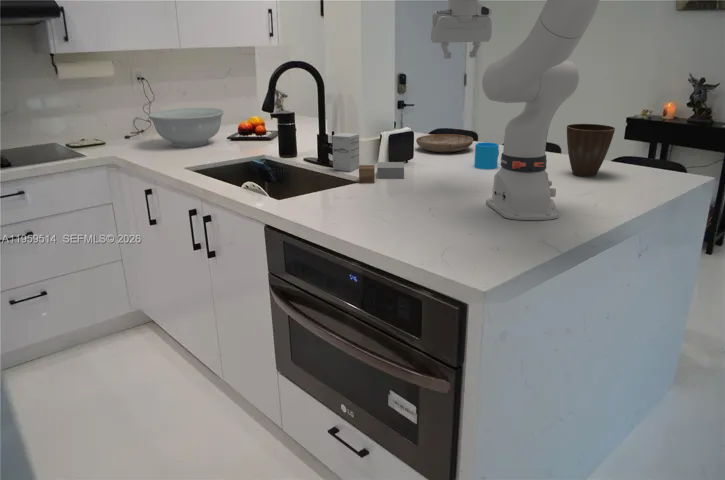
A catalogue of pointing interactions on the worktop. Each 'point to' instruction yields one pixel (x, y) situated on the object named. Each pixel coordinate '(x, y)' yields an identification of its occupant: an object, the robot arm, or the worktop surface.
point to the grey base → (390, 170)
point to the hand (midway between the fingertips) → (460, 58)
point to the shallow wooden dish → (444, 142)
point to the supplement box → (345, 151)
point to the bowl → (187, 125)
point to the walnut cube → (366, 173)
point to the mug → (486, 155)
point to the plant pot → (588, 147)
